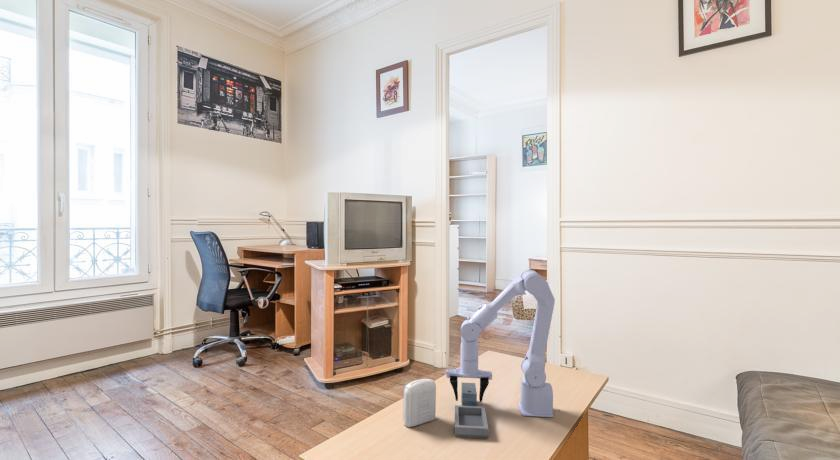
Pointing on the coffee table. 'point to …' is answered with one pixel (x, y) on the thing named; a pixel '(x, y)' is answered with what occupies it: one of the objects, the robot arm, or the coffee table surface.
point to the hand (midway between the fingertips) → (468, 399)
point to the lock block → (468, 394)
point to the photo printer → (419, 402)
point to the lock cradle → (471, 422)
